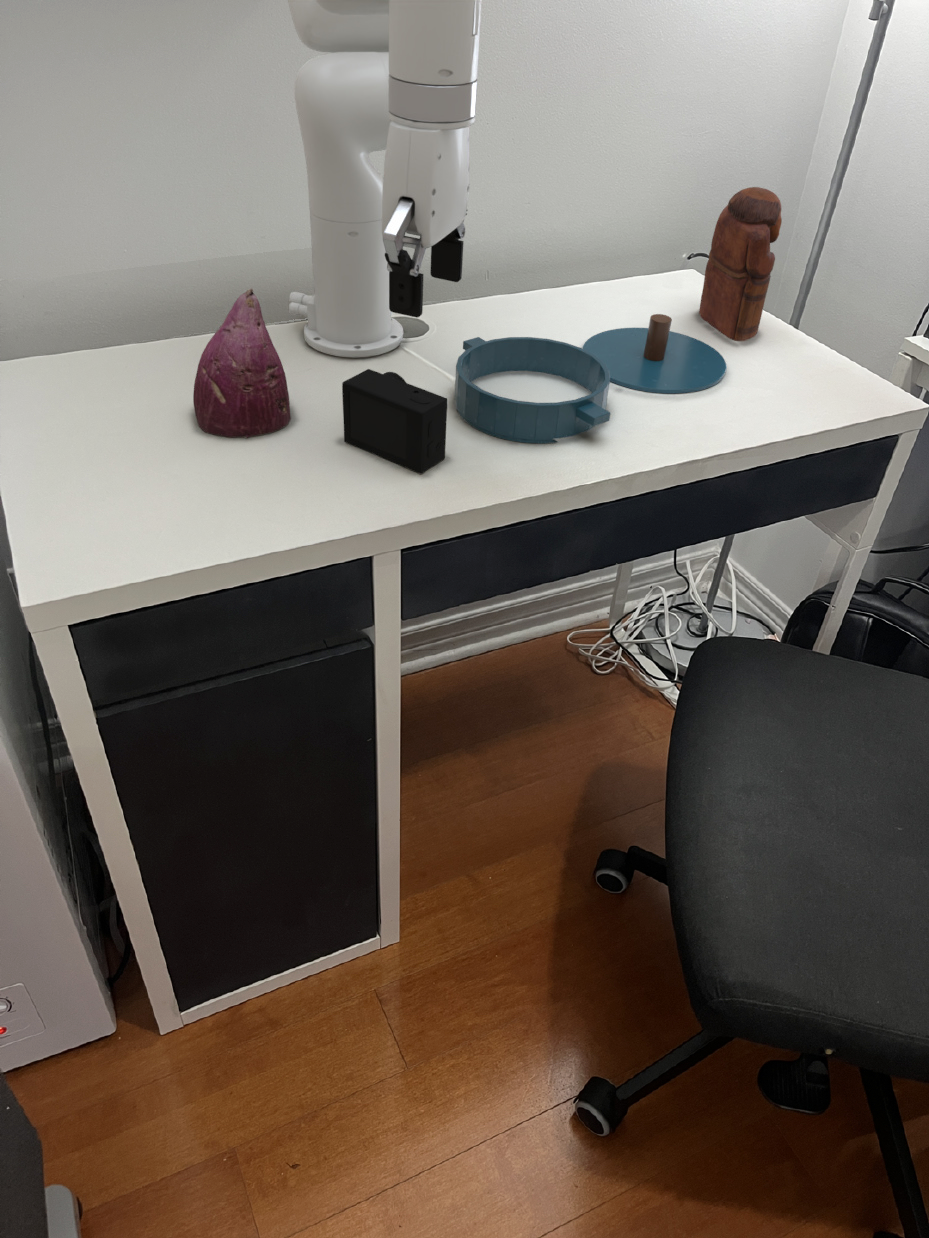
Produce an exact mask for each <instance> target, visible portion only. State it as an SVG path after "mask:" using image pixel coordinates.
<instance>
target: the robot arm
mask: <svg viewBox="0 0 929 1238" xmlns="http://www.w3.org/2000/svg"><path fill="white" fill-rule="evenodd" d="M287 2H288V7H289V11H290V15H291V19H292V22H293V27H294V29H295V32H296V34H297V36H298V38H299V40H300V41H301V43H302V44H303V45H304V46H305V47H306V48H309V49H310V50H312V51H315V52H319V53H323V54H319V55H315V56H313V57H312V58H310V59H308V60H306V61H305V62H304V63H303V64H302V65H301V67H300V68H299V69H298V71H297V73H296V77H295V81H294V101H295V108H296V114H297V119H298V124H299V128H300V129H299V130H300V134H301V139H302V146H303V150H304V151H303V152H304V158H305V166H306V175H307V189H308V207H309V224H310V243H311V244H310V245H311V261H312V279H313V281H312V282H313V295H309V294H306V293H303V292H298V291H291V292H290V294H289V297H288V304H289V306H288V311H289V312H288V313H290V314H291V315H297V316H304V317H305V319H307V322H306V323H305V324H304V327H303V338H304V341H305V342H306V344H307V345H308V346H309V347H311V348H312V349H314V350H316V351H318V352H320V353H323V354H326V355H330V356H334V357H343V358H367V357H369V358H370V357H374V356H379V355H380V356H381V355H383V354H386V353H389V352H391V351H393V350H395V349H397V347H398V346H401V344H402V343H401V342H402V341H403V339H404V328H403V325H402V324H401V323H400V322H399V321H398V320H397V319H395V318H393V317H392V313H394V314H398V315H404V316H408V317H413V318H420V317H421V316H422V315H423V309H424V307H423V306H424V273H421V272H420V271H421V268H422V264H423V261H424V257H425V254H426V250H427V249H429V248H430V272H429V273H430V276H431V277H432V278H434V279H439V280H443V281H448V282H452V283H453V282H454V283H459V282H460V281H461V280H462V277H463V262H464V261H463V260H464V258H463V257H464V240H463V239H465V235H466V227H465V223H464V222H465V219H466V216H467V215H468V213H467V212H468V203H469V192H470V159H471V158H470V153H471V152H470V150H471V149H470V127H471V126H472V125H474V124H475V122H476V109H477V91H478V75H479V73H478V72H479V58H480V57H479V56H480V38H481V20H482V5H483V4H482V2H483V0H287ZM382 151H385V154H384V164H383V175H382V173H381V172H380V171H379V170H378V168H377V167H376V166H375V165H374V164H373V163H372V161H371V160H370V158H369V156H370V154H371V153H373V152H382ZM406 234H408V235H412V236H408V235H406ZM413 236H418V237H413ZM404 247H405V248H409V249H414V251H413V254H412V258H411V256H410V254H409V252H408V250H406V249H404Z"/></svg>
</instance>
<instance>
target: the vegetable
mask: <svg viewBox="0 0 929 1238" xmlns="http://www.w3.org/2000/svg"><path fill="white" fill-rule="evenodd" d="M260 304H261V303H260V301H259V299H258V298H257V295H256V294H255V293H254V289H253V287H250V288H248V289H246V291H245V292H243V293H242V294H240V295H239V296H238V297H237V298H236V299H235V302H234V303H233V305H232V306H231V309H230V310H229V312H228V314H227V315H226V317H225V319H224V321H222V322H223V323H222V324H221V325H220V327H219V328H218V330H216V331H215V332H214V334H213V335H212V337H211V338H210V339H209V341H208V342H207V344H206V345H205V347H204V349H203V351H202V353H201V355H200V359H199V361H198V364H197V370H196V373H195V380H194V384H193V393H192V394H193V396H192V397H193V398H192V400H193V401H192V403H193V408H194V414H195V417H196V421H197V424H198V427H199V428H200V429H201V430H202V431H204V432H205V433H208V434H211V435H215V436H220V437H226V438H246V439H248V438H250V437H257V436H261V435H263V436H264V435H266V434H271V433H275V432H277V431H279V430H281V429H283V428H285V427H286V426H287V425H289V423H290V421H291V419H292V418H291V415H292V414H291V405H290V396H289V390H288V383H287V377H286V373H285V369H284V365H283V363H282V361H281V358H280V356H279V353H278V351H277V349H276V348H275V345H274V343H273V341H272V338H271V336H270V333H269V331H268V328H267V326H266V322H265V319H264V317H263V313H262V307H261V305H260Z"/></svg>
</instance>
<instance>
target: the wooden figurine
mask: <svg viewBox="0 0 929 1238" xmlns="http://www.w3.org/2000/svg"><path fill="white" fill-rule="evenodd" d="M782 219H783V218H782V202H781V200H780V198H779V197H778V195H777V194H776V193H774V192H773V191H771V190H769V189H767V188H764V187H760V186H752V187H746V188H742V189H740V190H739V191H737V192H736V193H734V194H733V196H732V197H731V198H730V199H729V200H728V203H727V205H726V206H725V207H724V208H723V209H722V211H721V212H720V214H719V216H718V219H717V221H716V224H715V228H714V231H713V235H712V239H711V245H710V251H709V253H708V260H707V262H706V266H705V270H704V277H703V278H704V279H703V287H702V293H701V298H700V303H699V311H698V313H699V317H700V318H701V319H702V320H703V321H705V322H706V323H707V324H709V325H710V326H712V327H713V328H714V329H715V330H717V331H718V332H719V333H720V334H722V335H723V336H725V337H727V339H729V340H732V341H735V342H745V341H748V340H750V339H752V338H754V337H755V336H756V335H757V333H758V330H759V327H760V323H761V319H762V315H763V310H764V307H765V302H766V299H767V298H766V297H767V293H768V289H769V286H770V282H771V274H772V272H773V269H774V265H775V262H776V255H775V253H774V252H772V251H771V244H773V243H775V242H776V241H777V240H778V238H779V236H780V230H781V227H782Z"/></svg>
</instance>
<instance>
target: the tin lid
mask: <svg viewBox="0 0 929 1238" xmlns="http://www.w3.org/2000/svg"><path fill="white" fill-rule="evenodd" d="M672 322H673V321H672V317H671V316H669V315H666V314H662V313H656V314H651V316H649V322H648V327H620V328H614V329H609V330H604V331H601V332H598V333H596V334H594V335H592V336H591V337H589V338H587V340H586V341H584V343H583V344H582V347H581V348H582V349H584V350H586V351H588V352H590V353H592V354H594V355H595V356H597V357H598V358H599V359H600V360H601V361H602V362H604V363H605V365H606V366H607V368H608V370H609V372H610V383H613V384H616V385H618V386H621V387H624V388H628V389H631V390H637V391H641V392H647V393H654V394H689V393H694V392H699V391H703V390H706V389H709V388H712V387H714V386H715V385H717V384H719V383H720V382H721V381H722V380H723V379H724V377H725V375H726V372H727V363H726V362H727V361H726V359H724V357H723V355H722V354H721V353H720V352H719V351H718V350H716V349H715V348H714V347H712V346H711V345H709V344H708V343H706V342H704V341H702V340H700V339H697V338H695V337H692V336H689V335H686V334H683V333H679V332H675V331H671V326H672Z"/></svg>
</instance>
